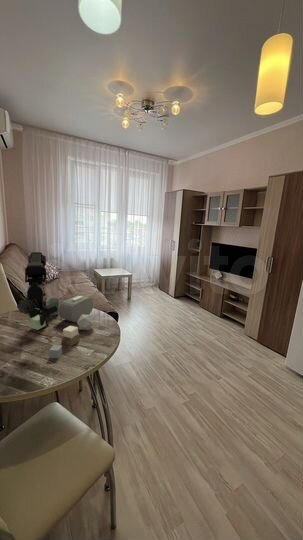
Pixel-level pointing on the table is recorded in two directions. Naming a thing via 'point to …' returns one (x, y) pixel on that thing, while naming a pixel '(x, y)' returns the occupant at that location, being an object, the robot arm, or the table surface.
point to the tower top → (70, 331)
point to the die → (85, 322)
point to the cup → (54, 302)
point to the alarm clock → (75, 308)
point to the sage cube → (36, 323)
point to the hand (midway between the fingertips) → (38, 324)
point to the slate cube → (55, 351)
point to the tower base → (70, 340)
